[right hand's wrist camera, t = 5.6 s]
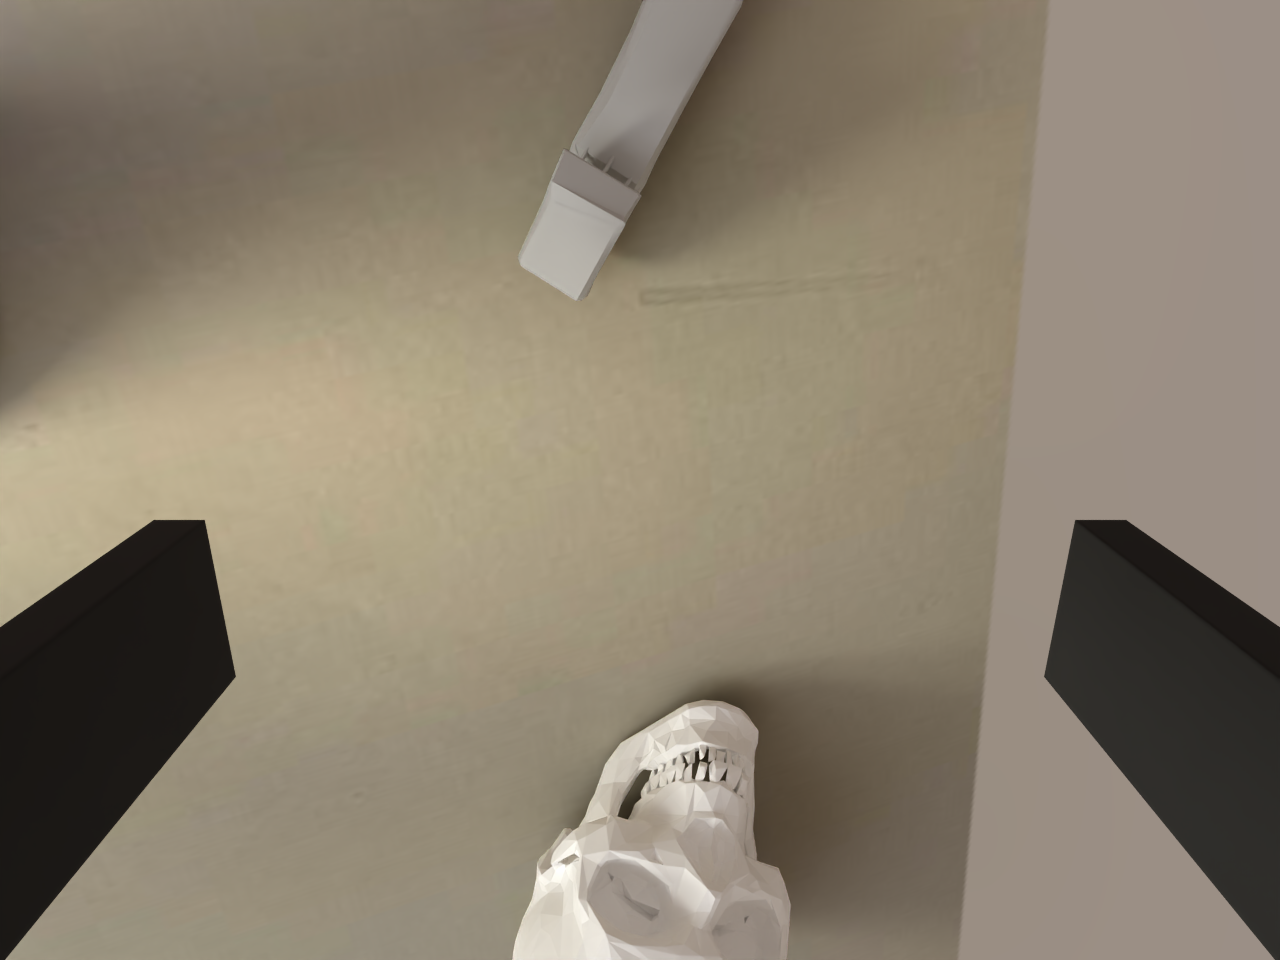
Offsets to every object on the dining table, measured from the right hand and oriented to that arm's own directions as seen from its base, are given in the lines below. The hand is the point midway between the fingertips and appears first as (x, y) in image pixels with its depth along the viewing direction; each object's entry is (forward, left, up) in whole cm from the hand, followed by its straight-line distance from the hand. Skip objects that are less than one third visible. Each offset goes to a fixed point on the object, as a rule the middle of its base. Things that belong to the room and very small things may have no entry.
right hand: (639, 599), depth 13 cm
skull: (-28, -16, -30) cm, 44 cm away
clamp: (+9, +4, -30) cm, 31 cm away
